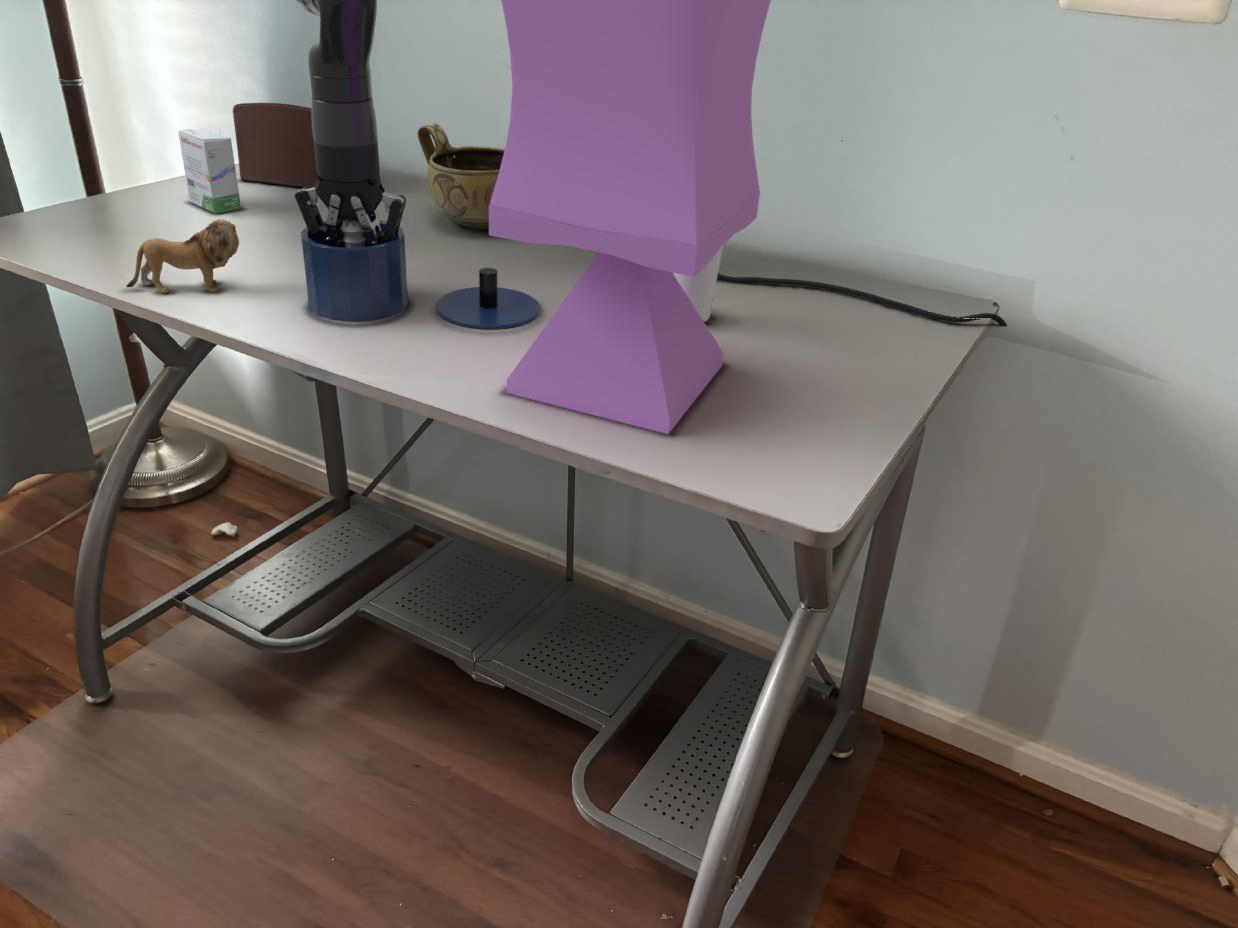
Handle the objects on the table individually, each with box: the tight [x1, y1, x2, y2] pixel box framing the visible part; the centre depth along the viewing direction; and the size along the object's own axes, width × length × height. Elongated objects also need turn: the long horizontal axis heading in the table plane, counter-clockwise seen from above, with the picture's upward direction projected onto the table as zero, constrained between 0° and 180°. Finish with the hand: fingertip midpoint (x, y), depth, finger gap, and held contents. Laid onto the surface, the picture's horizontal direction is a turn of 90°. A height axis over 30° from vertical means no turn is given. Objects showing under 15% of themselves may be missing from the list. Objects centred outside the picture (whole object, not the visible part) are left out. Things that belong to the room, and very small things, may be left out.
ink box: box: [177, 127, 242, 215], centre depth 157 cm, size 8×5×12 cm, turn 48°
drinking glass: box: [672, 244, 725, 323], centre depth 128 cm, size 7×7×15 cm
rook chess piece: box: [340, 219, 366, 248], centre depth 124 cm, size 4×4×8 cm
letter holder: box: [232, 102, 318, 189], centre depth 172 cm, size 10×20×14 cm, turn 81°
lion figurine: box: [125, 218, 240, 294], centre depth 127 cm, size 15×5×9 cm, turn 110°
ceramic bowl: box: [417, 122, 505, 230], centre depth 157 cm, size 22×17×15 cm
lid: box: [436, 267, 540, 330], centre depth 127 cm, size 14×14×6 cm
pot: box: [300, 219, 409, 323], centre depth 125 cm, size 13×13×10 cm
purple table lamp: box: [488, 0, 772, 435], centre depth 102 cm, size 22×22×45 cm
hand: (357, 271), depth 125 cm, fingers closed on rook chess piece, 4 cm apart
